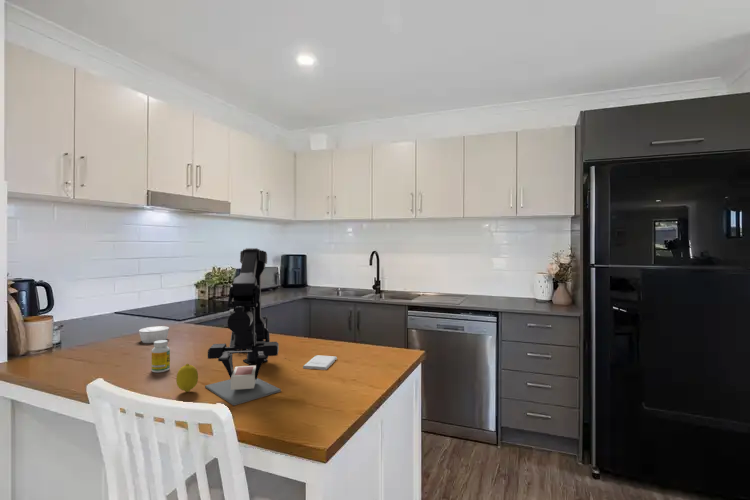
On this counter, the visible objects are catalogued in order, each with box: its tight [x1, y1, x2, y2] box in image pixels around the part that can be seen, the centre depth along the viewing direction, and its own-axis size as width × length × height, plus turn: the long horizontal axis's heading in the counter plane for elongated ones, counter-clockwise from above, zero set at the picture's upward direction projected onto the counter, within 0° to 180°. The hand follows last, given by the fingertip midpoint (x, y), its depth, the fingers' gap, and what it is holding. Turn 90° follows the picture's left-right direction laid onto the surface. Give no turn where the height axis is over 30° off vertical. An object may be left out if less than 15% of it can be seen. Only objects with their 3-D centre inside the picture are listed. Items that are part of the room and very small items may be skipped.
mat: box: [204, 377, 282, 406], centre depth 112 cm, size 18×14×1 cm
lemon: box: [175, 363, 199, 393], centre depth 110 cm, size 6×6×8 cm
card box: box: [230, 365, 256, 390], centre depth 111 cm, size 6×9×4 cm, turn 12°
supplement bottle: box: [150, 339, 171, 374], centre depth 129 cm, size 5×5×10 cm
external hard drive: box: [302, 354, 338, 371], centre depth 137 cm, size 2×8×12 cm
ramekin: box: [138, 325, 170, 344], centre depth 168 cm, size 11×11×5 cm
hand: (244, 379), depth 111 cm, fingers closed on card box, 6 cm apart
